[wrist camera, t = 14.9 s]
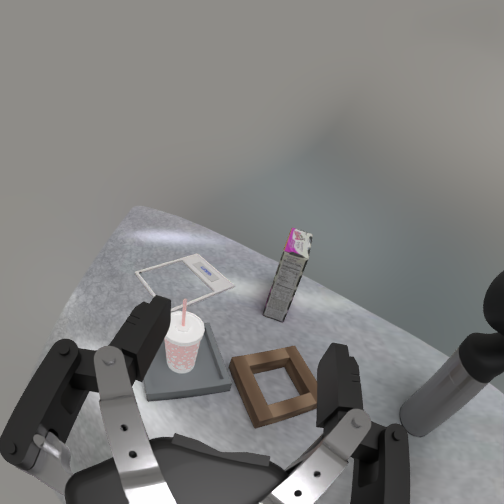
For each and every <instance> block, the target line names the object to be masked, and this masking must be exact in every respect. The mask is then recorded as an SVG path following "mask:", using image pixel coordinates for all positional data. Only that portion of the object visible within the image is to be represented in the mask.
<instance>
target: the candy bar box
mask: <svg viewBox="0 0 504 504" xmlns="http://www.w3.org/2000/svg"><path fill="white" fill-rule="evenodd" d="M311 242H312V234H310V233H307V232H304V231H301V230H298V229H296V228H291V231H290V233H289V236H288V239H287V242H286V244H285V247H284V250H283V254H282V257H281V259H280V262H279V265H278V268H277V271H276V275H275V278H274V281H273V284H272V287H271V290H270V293H269V296H268V299H267V303H266V306H265V309H264V312H263V315H264V316H266V317H269V318H272V319H275V320H278V321H281V322H284V319H285V317H286V315H287V312H288V310H289V307H290V305H291V302H292V300H293V297H294V295H295V292H296V290H297V287H298V285H299V282H300V279H301V277H302V274H303V271H304V268H305V266H306V264H307V261H308V258H309V253H310V248H311Z"/></svg>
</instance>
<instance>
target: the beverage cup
mask: <svg viewBox="0 0 504 504" xmlns="http://www.w3.org/2000/svg"><path fill="white" fill-rule="evenodd" d="M186 306H187V299H183V311H176V312H172V313H171V323H170V327H169V330H168V332H167V334H166V336H165V338H164V341H165V350H166V358H167V364H168V366H169V368H170V369H171V370H172V371H174V372H177V373H187V372H190V371H191V370H192V369H193V367H194V365H195V361H196V357H197V353H198V349H199V344H200V340H201V339H202V337H203V335H204V331H205V329H204V323H203V322H202V320H201V319H200V318H199V317H198V316H196V315H195V314H193V313H190V312H187V311H186Z"/></svg>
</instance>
